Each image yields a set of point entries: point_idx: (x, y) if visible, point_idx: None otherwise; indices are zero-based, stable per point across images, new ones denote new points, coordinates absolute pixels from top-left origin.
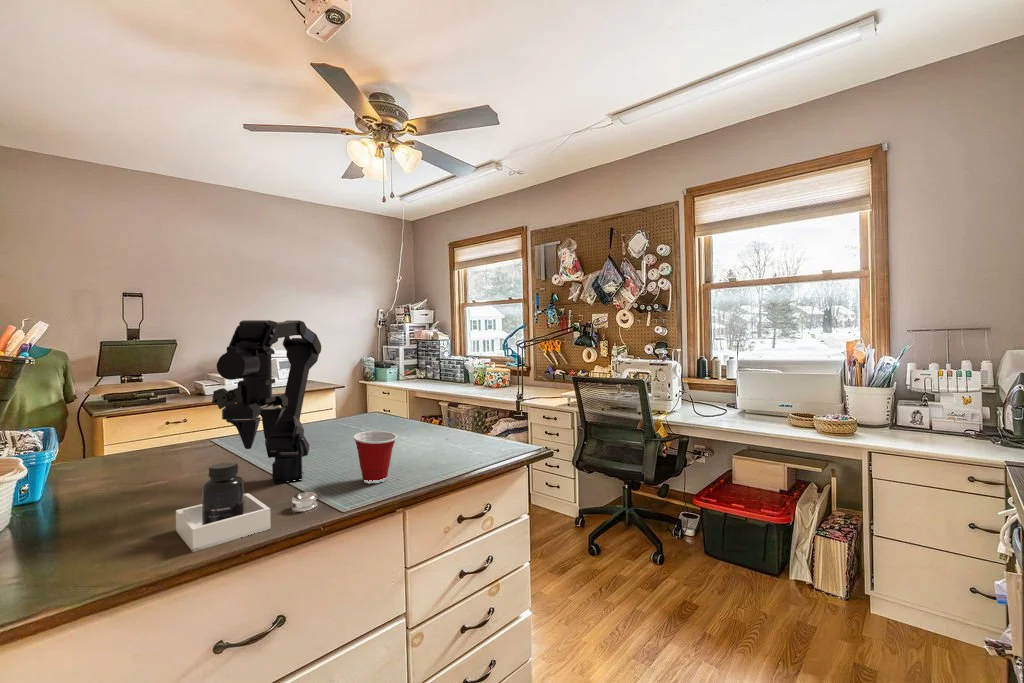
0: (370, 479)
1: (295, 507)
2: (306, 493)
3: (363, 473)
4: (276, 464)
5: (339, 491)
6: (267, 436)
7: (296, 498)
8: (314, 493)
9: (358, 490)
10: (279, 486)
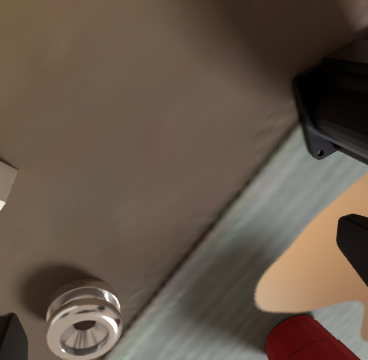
0: (270, 355)
1: (54, 309)
2: (108, 326)
3: (285, 351)
4: (364, 86)
5: (217, 308)
6: (351, 243)
7: (52, 335)
8: (105, 351)
9: (224, 341)
10: (269, 112)
